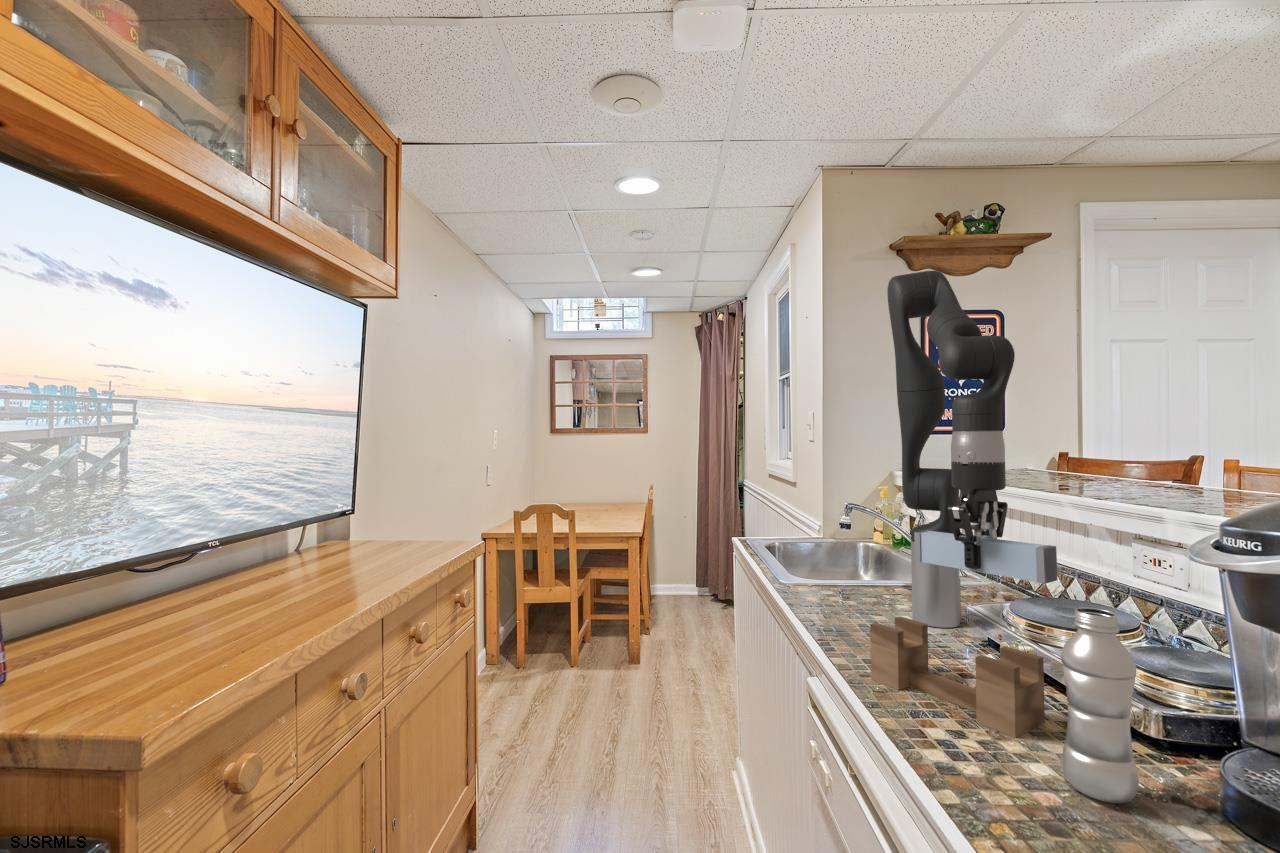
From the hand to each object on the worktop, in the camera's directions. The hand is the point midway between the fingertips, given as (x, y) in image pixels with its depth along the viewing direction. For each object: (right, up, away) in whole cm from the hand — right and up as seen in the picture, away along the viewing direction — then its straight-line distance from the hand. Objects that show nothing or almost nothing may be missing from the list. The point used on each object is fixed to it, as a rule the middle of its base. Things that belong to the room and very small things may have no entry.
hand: (979, 566), depth 92 cm
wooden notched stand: (-7, -19, -5) cm, 21 cm away
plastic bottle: (-4, -18, -29) cm, 34 cm away
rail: (0, -1, 0) cm, 1 cm away
